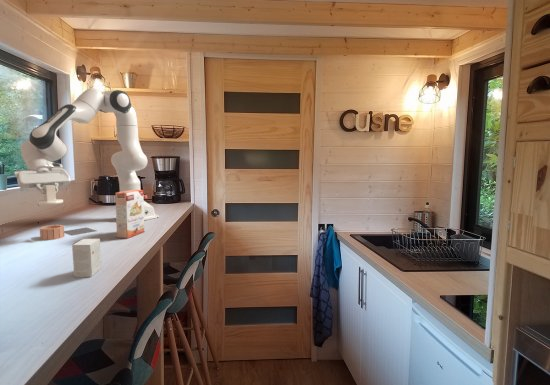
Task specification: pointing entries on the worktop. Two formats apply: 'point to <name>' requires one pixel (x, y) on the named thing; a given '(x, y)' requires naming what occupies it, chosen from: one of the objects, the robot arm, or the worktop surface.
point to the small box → (86, 257)
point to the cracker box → (129, 213)
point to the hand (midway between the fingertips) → (50, 192)
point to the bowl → (52, 232)
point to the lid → (49, 196)
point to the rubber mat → (79, 231)
